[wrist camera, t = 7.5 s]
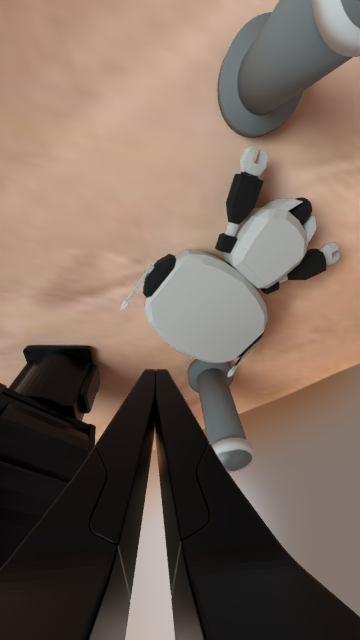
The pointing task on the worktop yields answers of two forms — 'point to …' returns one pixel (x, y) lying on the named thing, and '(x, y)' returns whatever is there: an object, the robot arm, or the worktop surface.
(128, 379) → the worktop surface
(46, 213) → the worktop surface
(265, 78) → the tube
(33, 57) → the worktop surface
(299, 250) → the robot toy
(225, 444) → the tube
